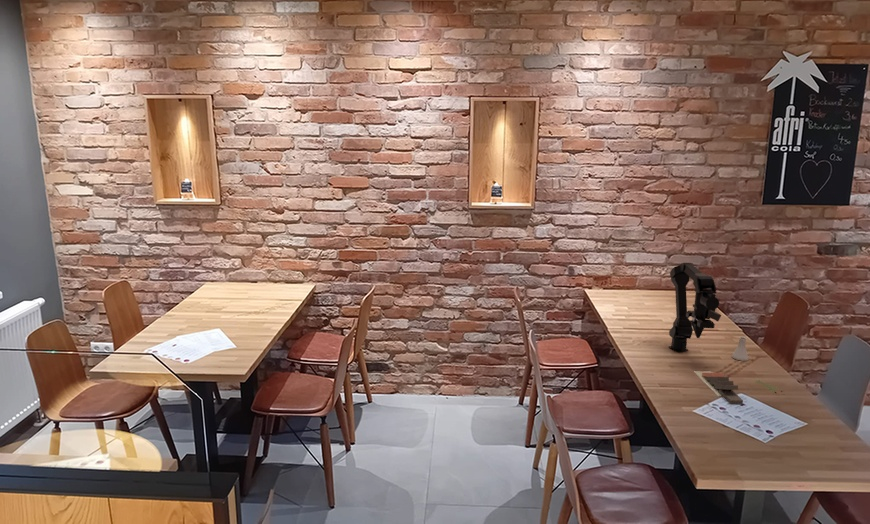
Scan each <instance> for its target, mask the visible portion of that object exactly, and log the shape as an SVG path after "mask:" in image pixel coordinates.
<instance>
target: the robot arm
mask: <svg viewBox="0 0 870 524" xmlns="http://www.w3.org/2000/svg"><path fill="white" fill-rule="evenodd" d="M669 277H670V279H671V280H670V281H671V283H672V284H673V286H674V289H675V308H676V309H675V310H676V311H675V312H676V313H675V314H676V315H675V320H674V321H673V323H672V327H671V329H670V330H669V331H668V333H669V334H668V335H669V337H670V338H671V344H670V345H671V346H668V348H669V349H670V350H672V351H675V352H676V353H681V352H688V351H689V349H688V348H687V345H688V344H687V343H688V340H689V339H690V340H691V338H692V335H693V332H694V335H695V337H696V338H697V339H700V338H701V335H702V333H703V331H704V329H715V326H716V324H715V322H714V321H716V322H719V321H720V320H721V317H722V315H721V314H720V313H719V312H717V311H716V309H718V307H720V306H719V305H720V301H719V299H718V298H717V296H716V294H717V287H716V286H717V285H716V284H715V280H714V279H713V277H712V276H711V275H709V274H707V273H706V274H705V273H703V272H702V271H700V270H699V269H698V268H697V267H696V266H695V264H694V263H692V262H682V263H680V264H679V265H676V266H674V267H673V268H671V269H670V272H669ZM690 279H691V280H692V281H693V283H692V285H693V286H694V292H695V296H694V304H692V308H693V310H688V304H687V303H688V301H687V285H688V284H689V282H690ZM690 317H691V320H690V319H689V318H690ZM711 319H712V320H714V321H712V320H711Z"/></svg>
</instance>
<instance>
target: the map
mask: <svg viewBox="0 0 870 524" xmlns="http://www.w3.org/2000/svg"><path fill="white" fill-rule="evenodd" d="M755 384H757V385H762V386H764V388H766V389H767V390H768V391H769V392H771V393H772V392H773V391H776V390H779V389H780V388H778V387H776V386H774V385H772V384H770V383H764V382H762V381H760V380H755Z"/></svg>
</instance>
